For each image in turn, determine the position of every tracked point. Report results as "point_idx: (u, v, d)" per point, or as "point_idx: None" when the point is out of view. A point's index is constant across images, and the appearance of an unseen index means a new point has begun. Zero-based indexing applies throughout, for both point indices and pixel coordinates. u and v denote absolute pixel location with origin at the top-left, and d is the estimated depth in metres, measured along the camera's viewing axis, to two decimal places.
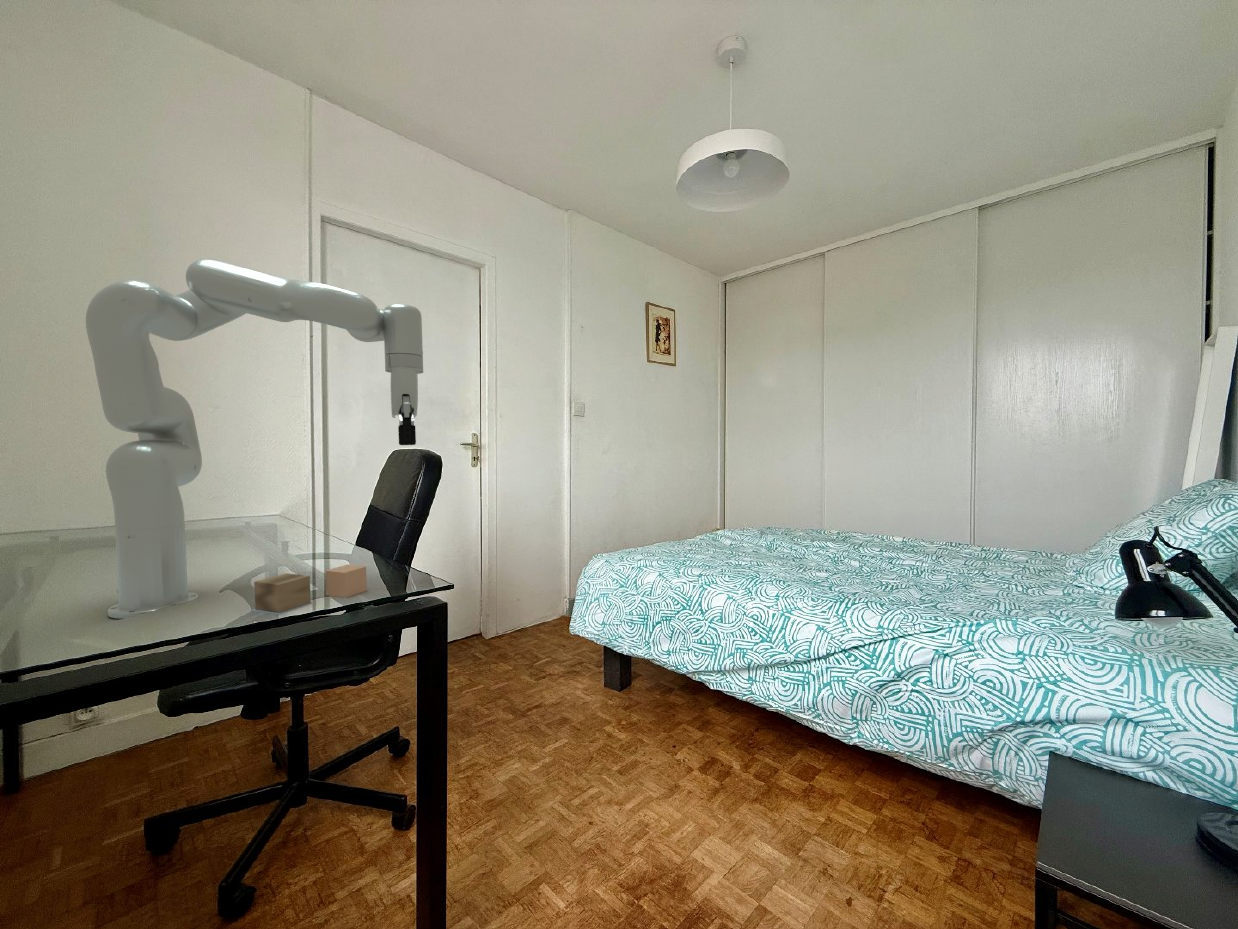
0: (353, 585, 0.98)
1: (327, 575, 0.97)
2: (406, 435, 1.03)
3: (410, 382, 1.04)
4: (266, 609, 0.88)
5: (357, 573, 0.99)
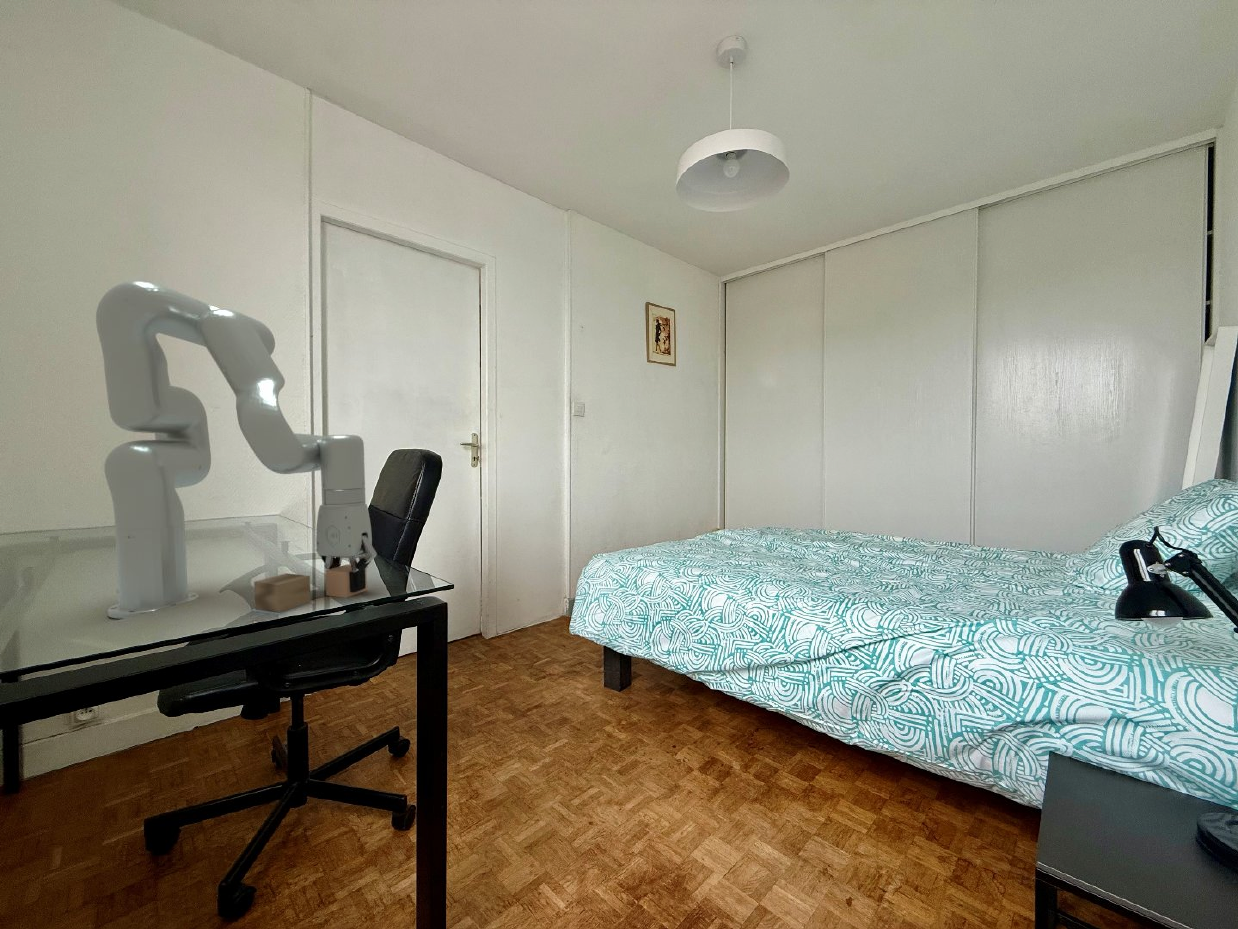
0: None
1: (327, 575, 0.97)
2: (360, 581, 0.98)
3: (367, 519, 0.98)
4: (266, 609, 0.88)
5: None
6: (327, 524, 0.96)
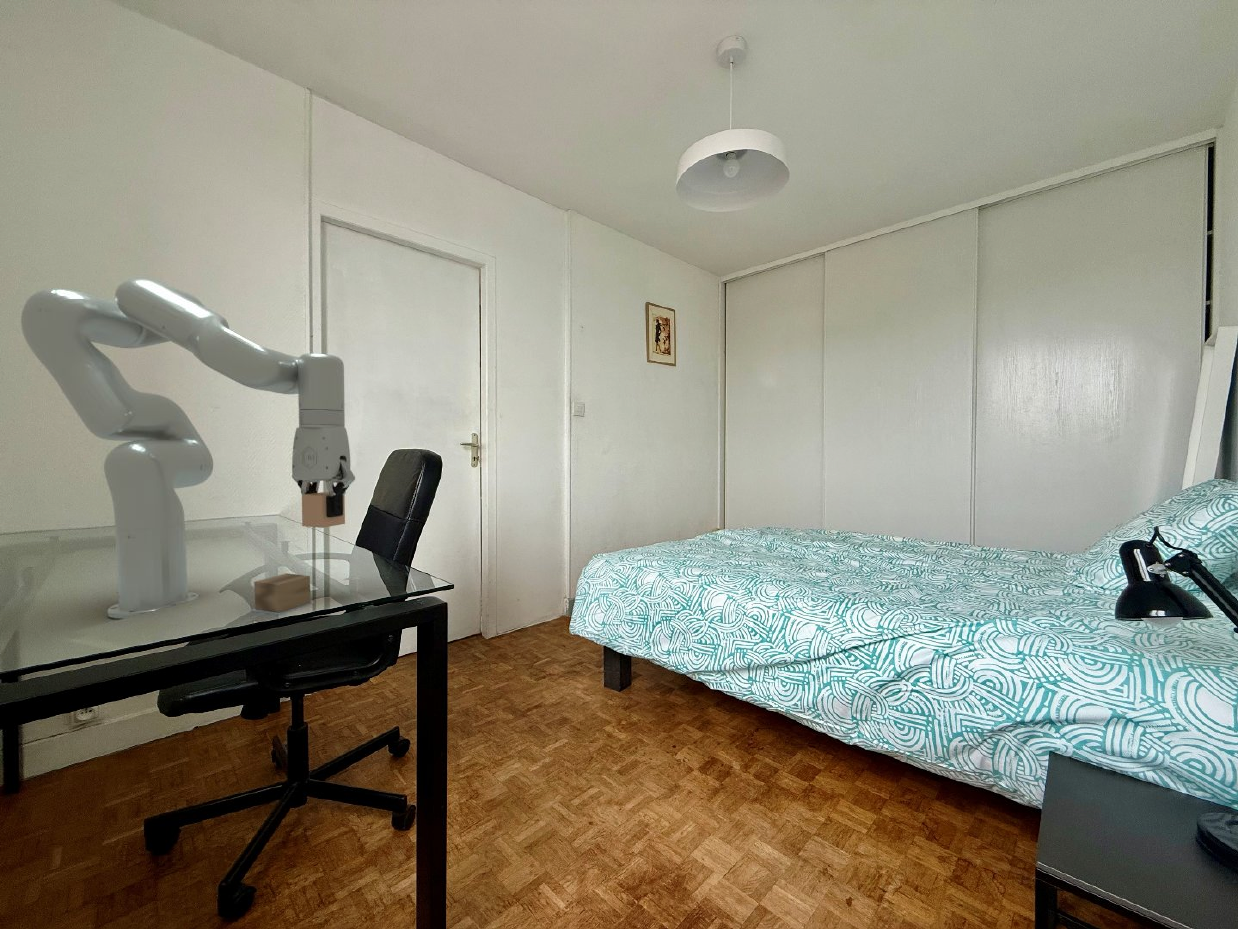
0: None
1: (303, 499, 0.94)
2: (337, 506, 0.95)
3: (345, 442, 0.95)
4: (266, 609, 0.88)
5: None
6: (303, 446, 0.93)
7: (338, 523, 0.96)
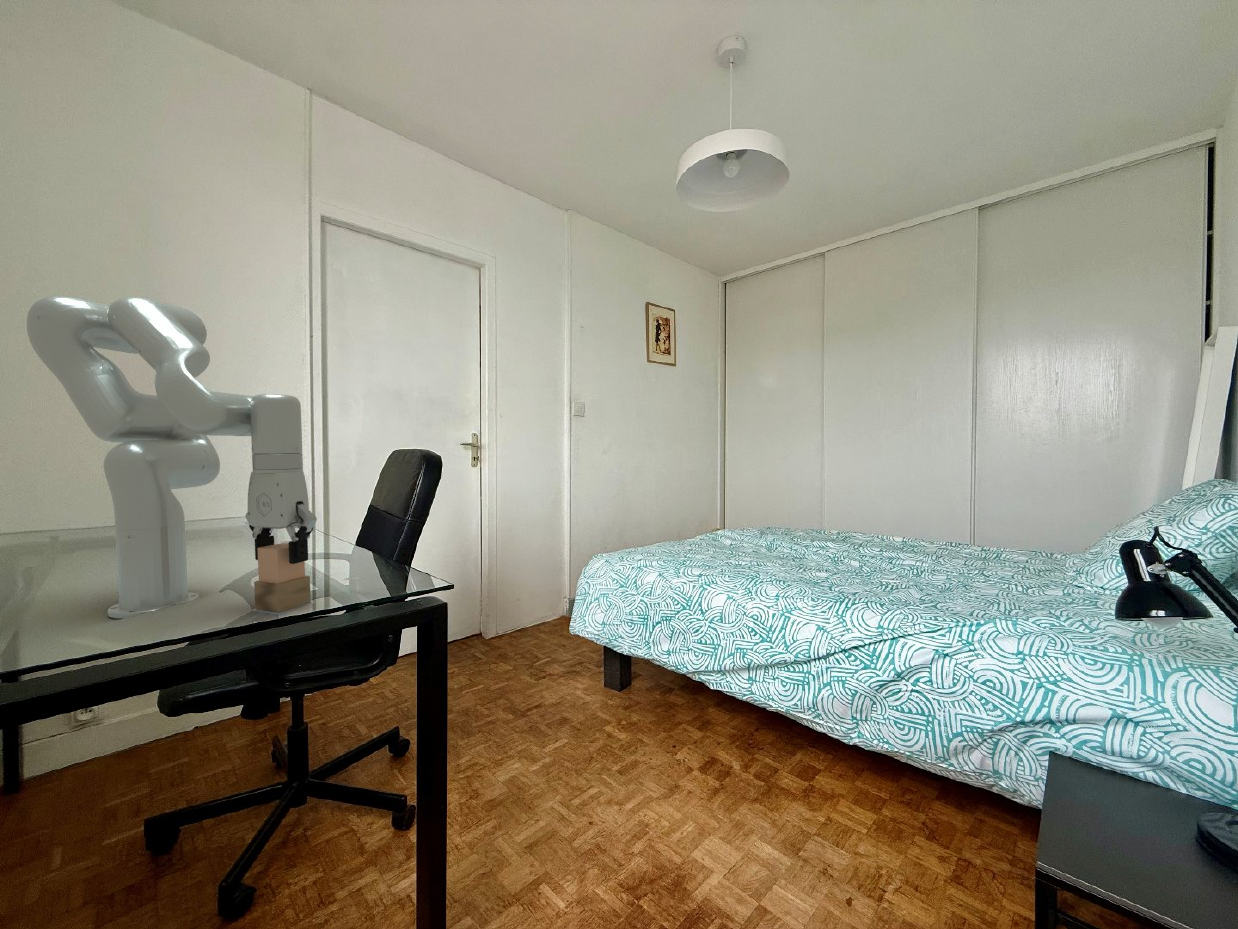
0: (287, 563, 0.89)
1: (259, 553, 0.89)
2: (300, 551, 0.89)
3: (303, 487, 0.90)
4: (266, 609, 0.88)
5: None
6: (258, 492, 0.88)
7: (297, 577, 0.91)
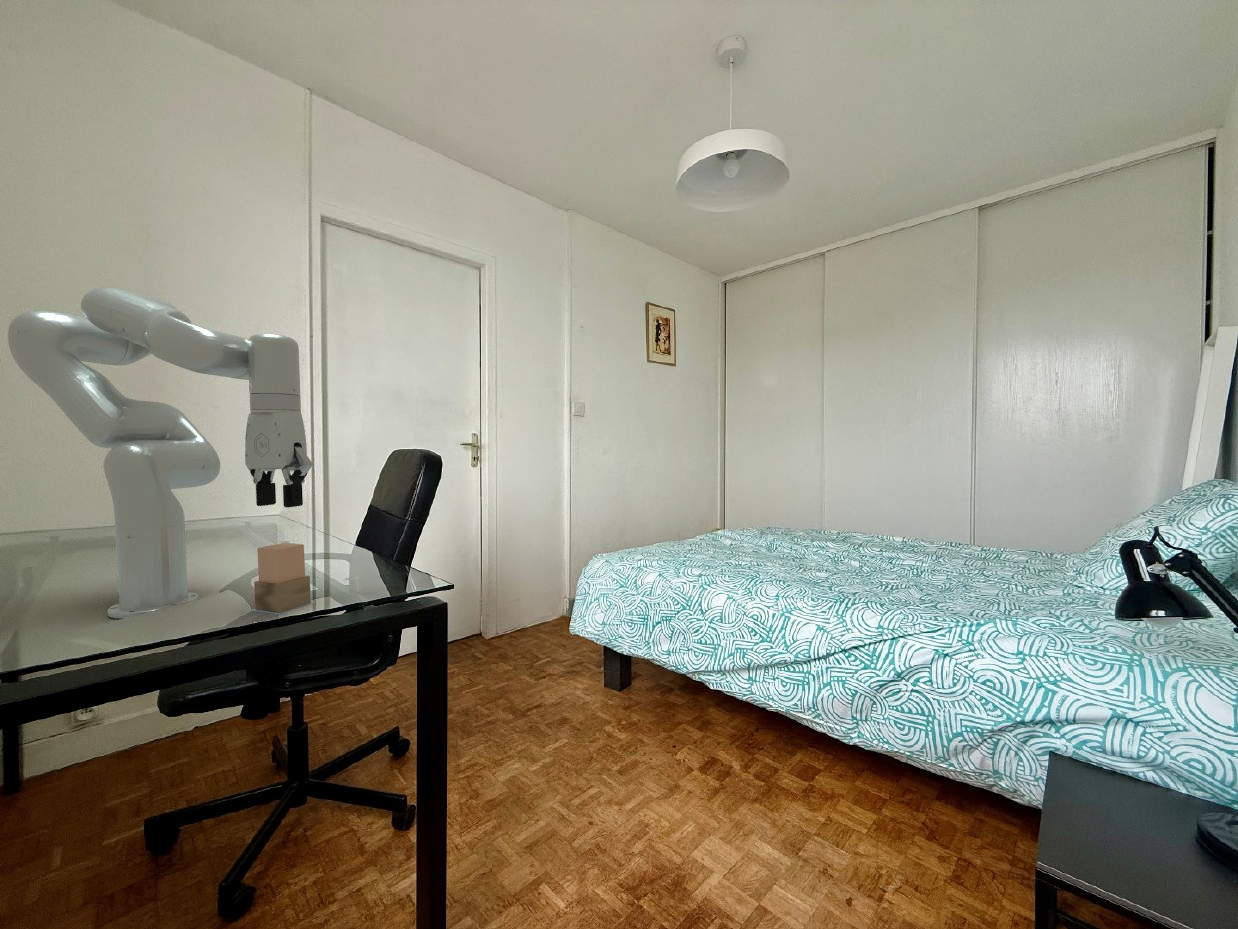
0: (287, 563, 0.89)
1: (259, 553, 0.89)
2: (295, 495, 0.89)
3: (301, 429, 0.89)
4: (266, 609, 0.88)
5: (293, 551, 0.90)
6: (255, 433, 0.88)
7: (297, 577, 0.91)
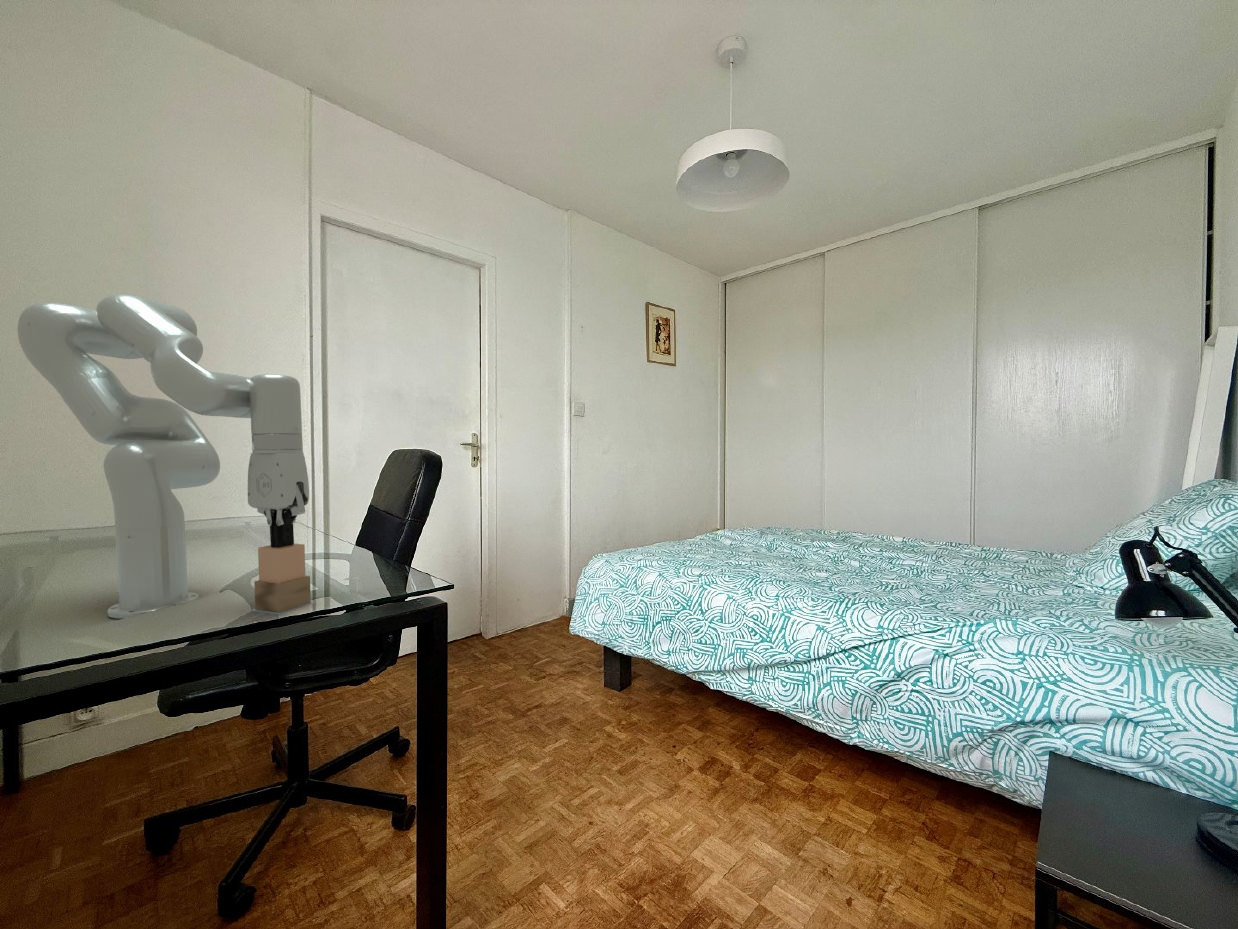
0: (288, 563, 0.89)
1: (260, 553, 0.89)
2: (286, 536, 0.90)
3: (303, 467, 0.89)
4: (266, 609, 0.88)
5: (293, 551, 0.90)
6: (258, 473, 0.88)
7: (297, 577, 0.91)
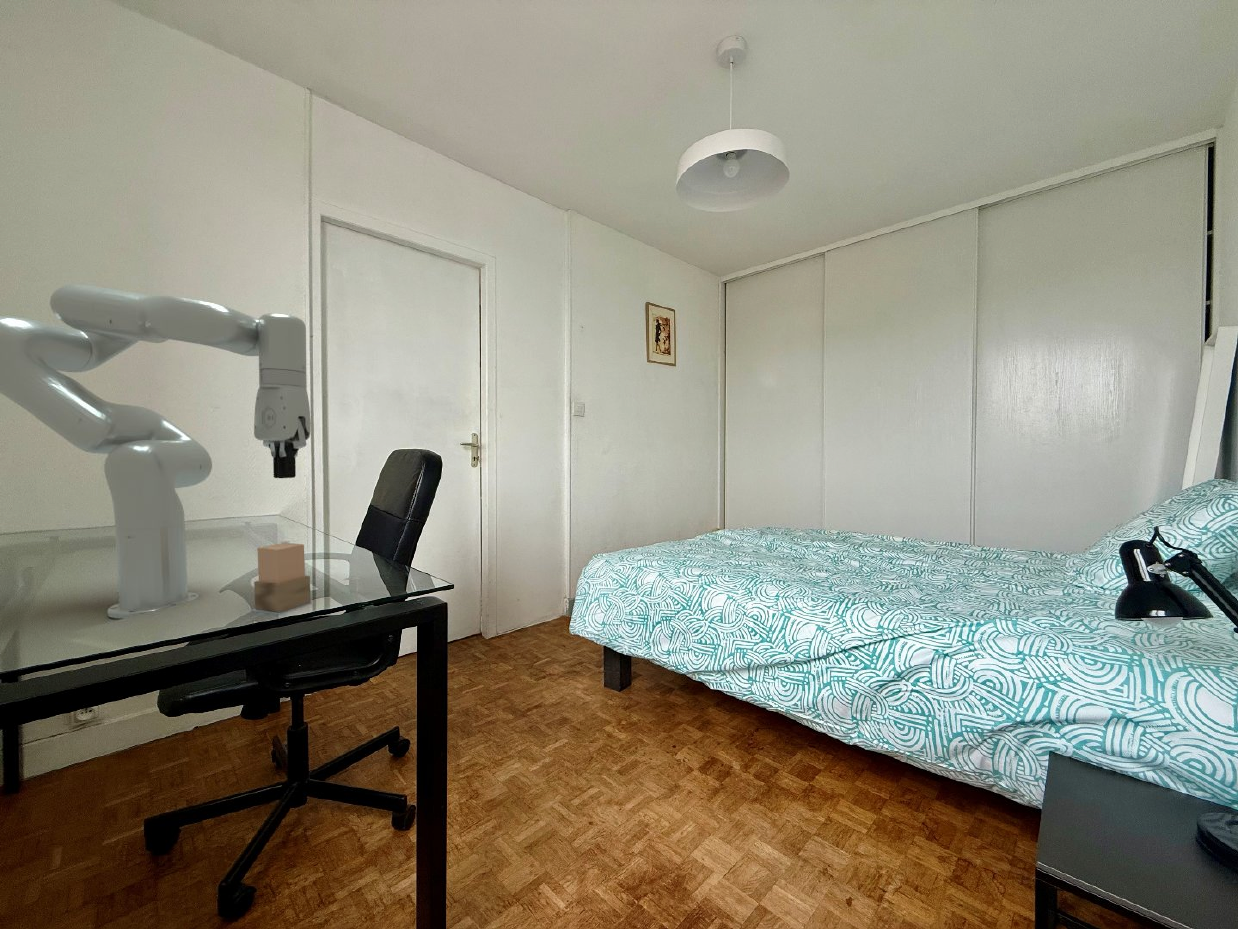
0: (287, 563, 0.89)
1: (259, 553, 0.89)
2: (288, 467, 0.95)
3: (305, 403, 0.95)
4: (266, 609, 0.88)
5: (293, 551, 0.90)
6: (263, 406, 0.93)
7: (297, 577, 0.91)
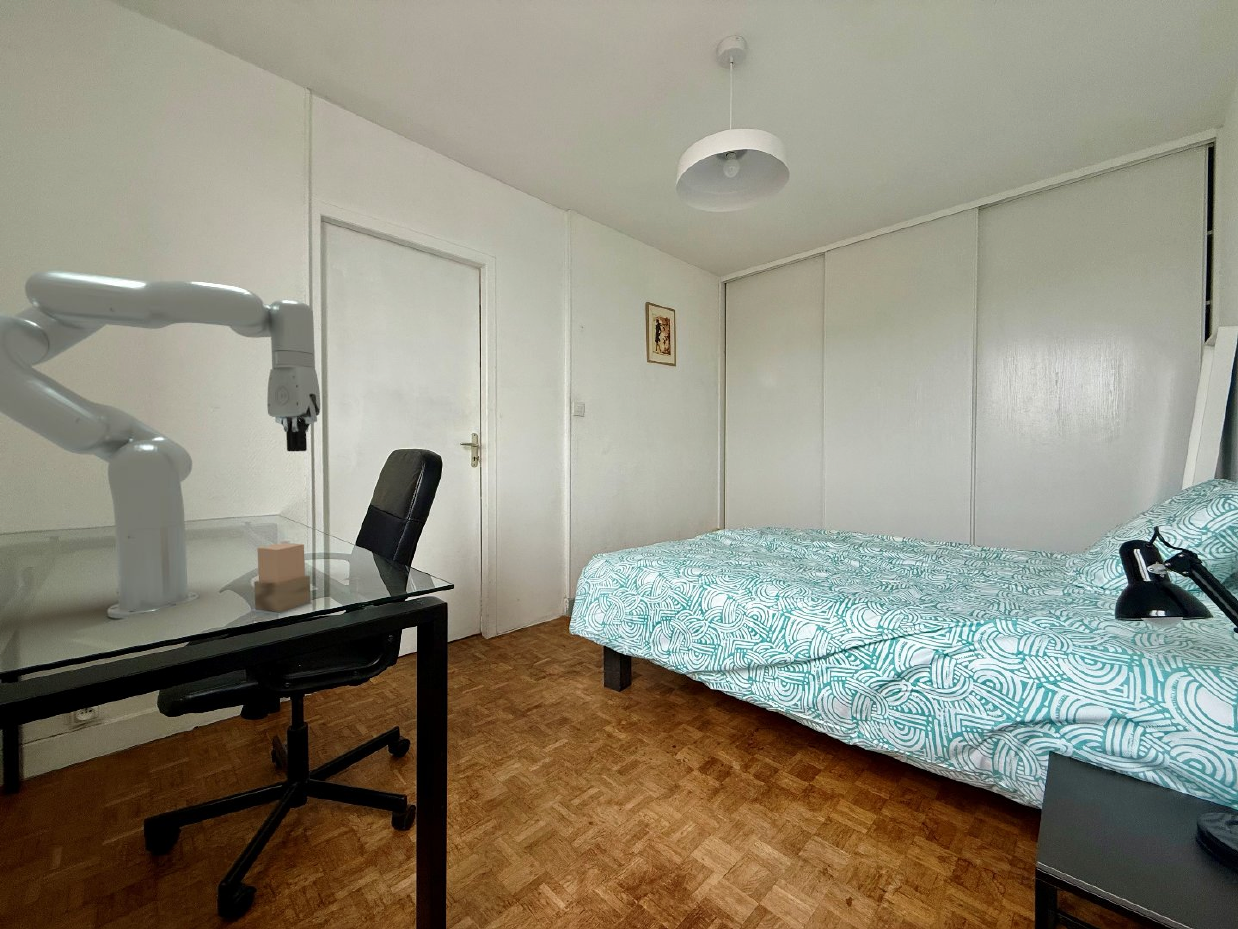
0: (287, 563, 0.89)
1: (259, 553, 0.89)
2: (300, 441, 1.04)
3: (315, 382, 1.04)
4: (266, 609, 0.88)
5: (293, 551, 0.90)
6: (277, 385, 1.02)
7: (297, 577, 0.91)
